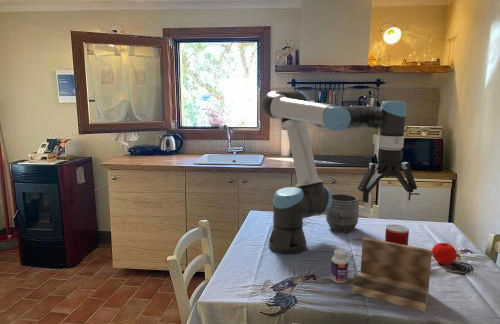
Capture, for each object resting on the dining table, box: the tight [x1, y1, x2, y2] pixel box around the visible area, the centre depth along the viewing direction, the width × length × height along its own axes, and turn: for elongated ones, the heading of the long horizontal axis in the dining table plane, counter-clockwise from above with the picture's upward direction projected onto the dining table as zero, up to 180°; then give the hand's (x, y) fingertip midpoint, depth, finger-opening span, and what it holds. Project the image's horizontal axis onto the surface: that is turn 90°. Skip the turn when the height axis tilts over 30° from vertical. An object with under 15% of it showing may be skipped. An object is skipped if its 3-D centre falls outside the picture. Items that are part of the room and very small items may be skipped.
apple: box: [431, 242, 458, 266], centre depth 127 cm, size 8×8×7 cm
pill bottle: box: [330, 248, 349, 284], centre depth 116 cm, size 5×5×10 cm
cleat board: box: [352, 236, 433, 312], centre depth 107 cm, size 20×11×14 cm, turn 59°
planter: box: [325, 193, 360, 233], centre depth 162 cm, size 14×14×15 cm
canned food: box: [384, 224, 410, 246], centre depth 133 cm, size 8×8×11 cm
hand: (385, 210), depth 120 cm, fingers open, 13 cm apart
